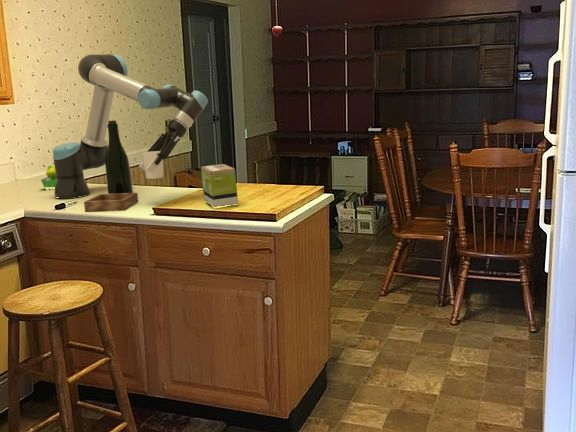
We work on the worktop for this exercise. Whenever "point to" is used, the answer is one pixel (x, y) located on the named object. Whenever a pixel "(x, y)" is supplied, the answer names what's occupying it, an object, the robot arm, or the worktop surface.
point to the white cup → (147, 160)
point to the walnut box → (111, 202)
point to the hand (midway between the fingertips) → (145, 169)
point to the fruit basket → (50, 177)
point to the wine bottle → (117, 163)
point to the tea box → (219, 185)
